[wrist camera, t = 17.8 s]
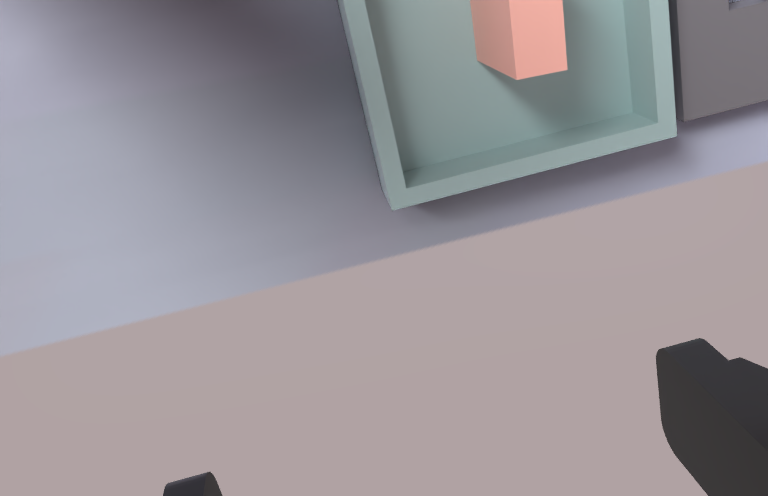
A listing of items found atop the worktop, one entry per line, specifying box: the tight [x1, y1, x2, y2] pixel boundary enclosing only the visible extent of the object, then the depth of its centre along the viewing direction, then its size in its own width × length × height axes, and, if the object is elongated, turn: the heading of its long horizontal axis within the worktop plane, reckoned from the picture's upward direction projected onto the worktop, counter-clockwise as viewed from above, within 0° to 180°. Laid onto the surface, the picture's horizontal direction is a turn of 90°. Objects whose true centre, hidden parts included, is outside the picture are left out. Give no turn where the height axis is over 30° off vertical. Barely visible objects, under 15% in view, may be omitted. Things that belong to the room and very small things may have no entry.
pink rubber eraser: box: [470, 0, 568, 80], centre depth 35 cm, size 6×2×7 cm, turn 10°
